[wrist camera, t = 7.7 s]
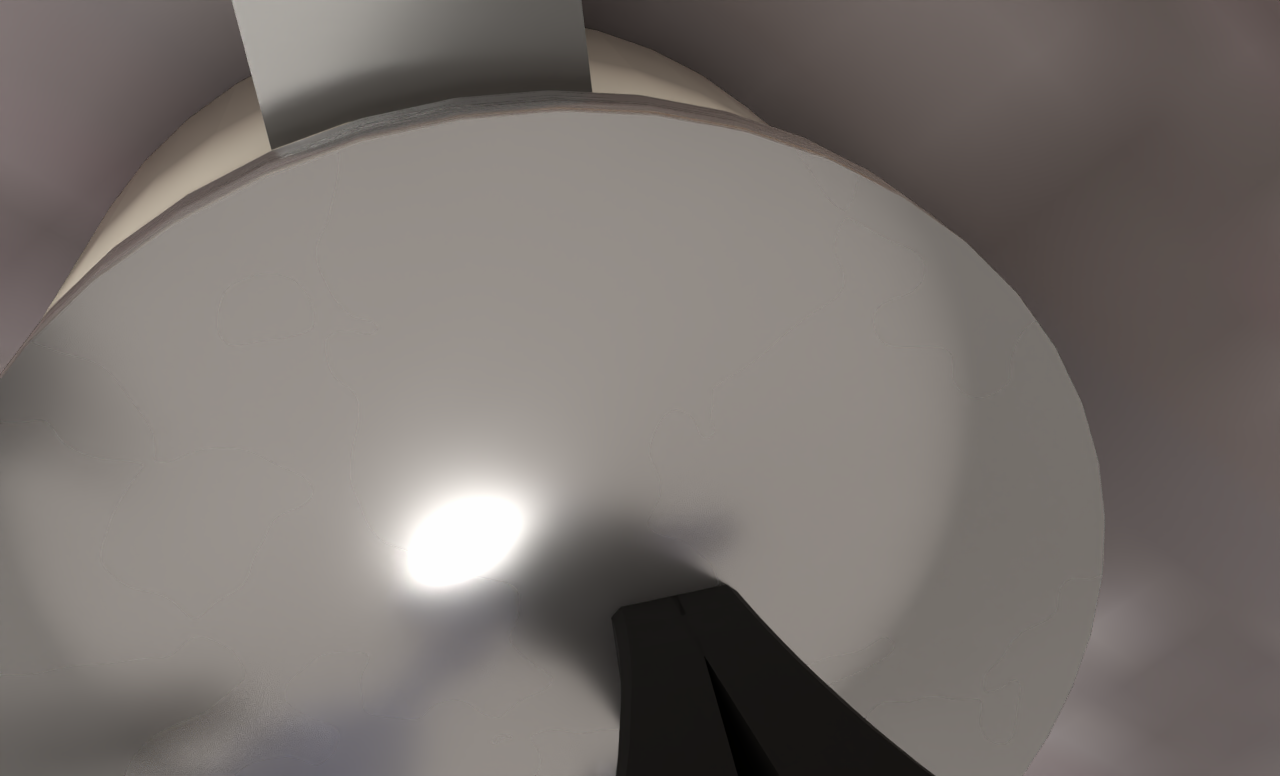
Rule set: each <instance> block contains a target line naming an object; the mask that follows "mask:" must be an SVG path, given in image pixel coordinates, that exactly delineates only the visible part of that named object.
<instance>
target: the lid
mask: <svg viewBox="0 0 1280 776" xmlns="http://www.w3.org/2000/svg"><path fill="white" fill-rule="evenodd" d="M1104 531H1105V515H1104V506H1103V497H1102V488H1101V478H1100V469H1099V461H1098V458H1097V454H1096V451H1095V447H1094V444H1093V440H1092V436H1091V433H1090V429H1089V426H1088V422H1087V419H1086V415H1085V412H1084V408H1083V404H1082V402H1081V400H1080V398H1079V396H1078V394H1077V392H1076V390H1075V388H1074V385H1073V383H1072V381H1071V379H1070V377H1069V375H1068V373H1067V371H1066V369H1065V367H1064V364H1063V362H1062V360H1061V358H1060V356H1059V354H1058V352H1057V350H1056V348H1055V346H1054V345H1053V343H1052V342H1051V341H1050V339H1049V338H1048V336H1047V335H1046V333H1045V332H1044V331H1043V329H1042V328H1041V326H1040V325H1039V324H1038V322H1037V321H1036V319H1035V318H1034V316H1033V315H1032V314H1031V312H1030V311H1029V309H1028V308H1027V307H1026V305H1025V304H1024V302H1023V301H1022V299H1021V298H1020V297H1019V295H1018V294H1017V293H1016V292H1015V291H1014V290H1013V289H1012V288H1011V287H1010V286H1009V285H1008V284H1007V283H1006V282H1005V281H1004V280H1003V279H1002V278H1001V277H1000V276H999V275H998V274H997V273H996V272H995V271H994V270H993V269H992V268H991V267H990V266H989V265H988V264H987V263H986V262H985V261H984V260H983V259H982V258H981V257H980V256H979V255H978V254H977V253H976V252H975V251H974V250H973V249H972V248H971V247H970V246H969V245H968V244H967V243H966V242H965V241H964V240H962V239H961V238H960V237H959V236H957V235H956V234H955V233H953V232H952V231H951V230H950V229H948V228H947V227H946V226H945V225H943V224H942V223H941V222H939V221H938V220H937V219H936V218H934V217H933V216H932V215H931V214H929V213H928V212H926V211H925V210H924V209H922V208H921V207H919V206H918V205H917V204H915V203H914V202H913V201H911V200H910V199H908V198H907V197H906V196H904V195H903V194H901V193H900V192H899V191H897V190H896V189H895V188H893V187H892V186H890V185H889V184H888V183H886V182H885V181H883V180H882V179H881V178H879V177H878V176H877V175H875V174H874V173H872V172H870V171H868V170H867V169H865V168H863V167H861V166H859V165H857V164H855V163H853V162H851V161H849V160H847V159H845V158H843V157H841V156H839V155H837V154H835V153H833V152H831V151H829V150H827V149H825V148H823V147H821V146H820V145H818V144H816V143H814V142H812V141H810V140H808V139H806V138H804V137H801V136H798V135H795V134H792V133H789V132H786V131H783V130H780V129H778V128H775V127H772V126H769V125H766V124H763V123H760V122H757V121H754V120H751V119H748V118H745V117H742V116H739V115H736V114H733V113H730V112H727V111H723V110H718V109H713V108H707V107H702V106H697V105H691V104H686V103H681V102H675V101H670V100H665V99H659V98H654V97H649V96H643V95H634V94H614V93H594V92H574V91H553V90H546V91H533V92H521V93H509V94H497V95H485V96H473V97H461V98H453V99H448V100H443V101H439V102H434V103H430V104H425V105H420V106H416V107H411V108H407V109H402V110H397V111H393V112H388V113H384V114H379V115H374V116H370V117H365V118H361V119H358V120H355V121H353V122H350V123H347V124H344V125H341V126H339V127H336V128H333V129H330V130H328V131H325V132H322V133H319V134H316V135H314V136H311V137H308V138H305V139H303V140H300V141H297V142H294V143H292V144H289V145H286V146H283V147H280V148H278V149H275V150H272V151H270V152H268V153H266V154H264V155H262V156H260V157H258V158H256V159H255V160H253V161H251V162H249V163H247V164H245V165H243V166H241V167H239V168H237V169H235V170H233V171H232V172H230V173H228V174H226V175H224V176H222V177H220V178H218V179H216V180H214V181H212V182H210V183H209V184H207V185H205V186H203V187H201V188H199V189H197V190H195V191H193V192H191V193H189V194H187V195H186V196H185V197H183V198H182V199H180V200H179V201H178V202H176V203H175V204H173V205H172V206H171V207H169V208H168V209H166V210H165V211H164V212H162V213H161V214H159V215H158V216H157V217H155V218H154V219H152V220H151V221H150V222H148V223H147V224H145V225H144V226H143V227H141V228H140V229H138V230H137V231H136V232H134V233H133V234H131V235H130V236H129V237H127V238H126V239H124V240H123V241H122V242H120V243H119V244H117V245H116V246H115V247H113V248H112V249H111V250H110V251H109V252H108V253H107V254H106V255H105V256H104V257H103V258H102V259H101V260H100V261H99V262H98V263H97V264H96V265H95V266H93V267H92V268H91V269H90V270H89V271H88V272H87V273H86V274H85V275H84V276H83V277H82V278H81V279H80V280H79V281H78V282H77V283H76V284H75V285H74V286H73V287H72V288H71V289H70V290H69V291H68V292H66V293H65V294H64V295H63V296H62V297H61V298H60V299H59V300H58V301H57V302H56V303H55V304H54V305H53V306H52V307H51V308H50V309H49V310H48V312H47V313H46V314H45V316H44V317H43V318H42V320H41V321H40V322H39V324H38V325H37V326H36V328H35V329H34V330H33V331H32V333H31V334H30V335H29V337H28V338H27V339H26V341H25V342H24V343H23V345H22V346H21V347H20V349H19V350H18V351H17V353H16V354H15V355H14V357H13V358H12V359H11V360H10V362H9V363H8V364H7V366H6V367H5V368H4V370H3V371H2V372H1V374H0V776H616V769H617V759H618V745H619V727H620V710H621V681H620V674H619V667H618V660H617V654H616V647H615V640H614V633H613V626H612V619H611V617H612V616H613V615H614V614H615V613H616V612H617V610H618V609H619V608H620V607H622V606H627V605H632V604H636V603H641V602H646V601H650V600H655V599H660V598H664V597H669V596H674V595H678V594H683V593H688V592H692V591H697V590H701V589H706V588H711V587H715V586H720V585H725V584H727V585H729V586H730V587H732V588H733V589H735V590H736V591H738V593H739V594H740V595H741V596H742V597H743V598H744V600H745V601H746V602H747V603H748V604H749V605H750V606H751V608H752V609H753V610H754V611H755V612H756V613H757V614H758V615H759V616H760V618H761V619H762V620H763V621H764V622H765V623H766V624H767V625H768V626H769V627H770V628H771V629H772V630H773V631H774V632H775V634H776V635H777V636H778V637H779V638H780V639H781V640H782V641H783V642H784V643H785V644H786V645H787V646H788V647H789V648H790V649H791V650H792V651H793V652H794V653H795V654H796V655H797V656H798V657H799V658H800V659H801V660H802V661H803V662H804V663H805V664H806V665H807V666H808V667H809V668H810V669H811V670H812V671H813V672H814V673H815V674H816V675H818V676H819V677H820V678H821V679H822V680H823V681H824V682H825V683H826V684H827V685H828V686H830V687H831V688H832V689H833V690H834V691H835V692H836V693H837V694H838V695H839V696H840V697H842V698H843V699H844V700H845V701H846V702H847V703H848V704H849V705H850V706H851V707H852V708H854V709H855V710H856V711H857V712H858V713H859V714H860V715H861V716H863V717H864V718H865V719H866V720H867V721H868V722H870V723H871V724H872V725H873V726H874V727H875V728H877V729H878V730H879V731H880V732H881V733H882V734H884V735H885V736H886V737H887V738H889V739H890V740H891V741H892V742H893V743H895V744H896V745H897V746H898V747H900V748H901V749H902V750H903V751H905V752H906V753H907V754H908V755H909V756H911V757H912V758H913V759H914V760H916V761H917V762H918V763H919V764H921V765H922V766H923V767H925V768H926V769H927V770H929V771H930V772H931V773H932V774H934V775H935V776H1023V775H1024V773H1025V772H1026V770H1027V768H1028V767H1029V765H1030V764H1031V762H1032V761H1033V759H1034V758H1035V756H1036V755H1037V753H1038V751H1039V750H1040V748H1041V747H1042V745H1043V744H1044V742H1045V741H1046V739H1047V738H1048V736H1049V733H1050V731H1051V729H1052V727H1053V725H1054V723H1055V721H1056V719H1057V717H1058V715H1059V713H1060V711H1061V709H1062V707H1063V705H1064V703H1065V701H1066V699H1067V697H1068V695H1069V693H1070V691H1071V689H1072V687H1073V684H1074V681H1075V678H1076V675H1077V673H1078V670H1079V667H1080V664H1081V661H1082V658H1083V655H1084V652H1085V649H1086V647H1087V644H1088V641H1089V638H1090V635H1091V631H1092V626H1093V621H1094V616H1095V611H1096V606H1097V601H1098V596H1099V591H1100V586H1101V581H1102V572H1103V552H1104Z"/></svg>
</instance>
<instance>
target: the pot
mask: <svg viewBox="0 0 1280 776" xmlns="http://www.w3.org/2000/svg"><path fill="white" fill-rule="evenodd" d="M232 3H233V7H234V11H235V14H236V18H237V22H238V26H239V30H240V33H241V37H242V41H243V45H244V48H245V52H246V56H247V60H248V63H249V67H250V71H251V75H252V76H250V77H248V78H247V79H245V80H243V81H241V82H239V83H237V84H236V85H234V86H233V87H232V88H230V89H229V90H227V91H226V92H225V93H223V94H222V95H221V96H219V97H218V98H216V99H215V100H214V101H212V102H211V103H210V104H208V105H207V106H205V107H204V108H203V109H201V110H200V111H199V112H197V113H196V114H194V115H193V116H192V117H190V118H189V119H188V120H187V121H185V122H184V123H183V124H182V125H181V126H180V127H179V128H178V129H177V130H176V131H175V132H174V133H173V134H172V135H171V136H170V137H169V138H168V139H167V140H166V141H165V142H164V143H163V144H162V145H161V146H160V147H159V148H158V149H157V150H156V151H155V152H154V153H153V154H152V155H151V156H150V157H149V158H148V159H147V160H146V161H145V162H144V163H143V164H142V166H141V167H140V168H139V170H138V171H137V172H136V174H135V175H134V176H133V178H132V179H131V180H130V182H129V183H128V184H127V186H126V187H125V188H124V190H123V191H122V192H121V194H120V195H119V196H118V198H117V199H116V200H115V201H114V203H113V204H112V205H111V207H110V208H109V210H108V212H107V213H106V215H105V216H104V218H103V220H102V221H101V223H100V225H99V226H98V228H97V230H96V231H95V233H94V234H93V236H92V238H91V239H90V241H89V243H88V244H87V246H86V248H85V249H84V251H83V253H82V254H81V256H80V257H79V259H78V261H77V262H76V264H75V266H74V267H73V269H72V271H71V272H70V274H69V276H68V277H67V279H66V280H65V282H64V284H63V285H62V287H61V289H60V290H59V292H58V294H57V295H56V297H55V298H54V300H53V302H52V303H51V305H50V307H49V308H48V310H49V309H50V308H51V307H52V306H53V305H54V304H55V303H56V302H57V301H58V300H59V299H60V298H61V297H62V296H63V295H64V294H65V293H66V292H68V291H69V290H70V289H71V288H72V287H73V286H74V285H75V284H76V283H77V282H78V281H79V280H80V279H81V278H82V277H83V276H84V275H85V274H86V273H87V272H88V271H89V270H90V269H91V268H92V267H93V266H95V265H96V264H97V263H98V262H99V261H100V260H101V259H102V258H103V257H104V256H105V255H106V254H107V253H108V252H109V251H110V250H111V249H112V248H113V247H115V246H116V245H117V244H119V243H120V242H122V241H123V240H124V239H126V238H127V237H129V236H130V235H131V234H133V233H134V232H136V231H137V230H138V229H140V228H141V227H143V226H144V225H145V224H147V223H148V222H150V221H151V220H152V219H154V218H155V217H157V216H158V215H159V214H161V213H162V212H164V211H165V210H166V209H168V208H169V207H171V206H172V205H173V204H175V203H176V202H178V201H179V200H180V199H182V198H183V197H185V196H186V195H187V194H189V193H191V192H193V191H195V190H197V189H199V188H201V187H203V186H205V185H207V184H209V183H210V182H212V181H214V180H216V179H218V178H220V177H222V176H224V175H226V174H228V173H230V172H232V171H233V170H235V169H237V168H239V167H241V166H243V165H245V164H247V163H249V162H251V161H253V160H255V159H256V158H258V157H260V156H262V155H264V154H266V153H268V152H270V151H272V150H275V149H278V148H280V147H283V146H286V145H289V144H292V143H294V142H297V141H300V140H303V139H305V138H308V137H311V136H314V135H316V134H319V133H322V132H325V131H328V130H330V129H333V128H336V127H339V126H341V125H344V124H347V123H350V122H353V121H355V120H358V119H361V118H365V117H370V116H374V115H379V114H384V113H388V112H393V111H397V110H402V109H407V108H411V107H416V106H420V105H425V104H430V103H434V102H439V101H443V100H448V99H453V98H461V97H473V96H485V95H497V94H509V93H521V92H533V91H546V90H553V91H574V92H594V93H614V94H634V95H643V96H649V97H654V98H659V99H665V100H670V101H675V102H681V103H686V104H691V105H697V106H702V107H707V108H713V109H718V110H723V111H727V112H730V113H733V114H736V115H739V116H742V117H745V118H748V119H751V120H754V121H757V122H760V123H763V124H766V123H765V122H764V121H762V120H761V119H760V118H759V117H758V116H756V115H755V114H754V113H753V112H752V111H750V110H749V109H748V108H747V107H746V106H744V105H743V104H742V103H740V102H739V101H737V100H736V99H735V98H733V97H732V96H730V95H729V94H727V93H726V92H725V91H723V90H722V89H720V88H719V87H718V86H716V85H715V84H713V83H712V82H711V81H709V80H708V79H706V78H705V77H704V76H702V75H700V74H698V73H697V72H695V71H693V70H691V69H689V68H687V67H685V66H683V65H681V64H679V63H677V62H675V61H673V60H671V59H669V58H667V57H665V56H663V55H661V54H660V53H658V52H656V51H654V50H652V49H649V48H646V47H643V46H640V45H637V44H635V43H632V42H629V41H626V40H623V39H620V38H617V37H614V36H612V35H609V34H606V33H603V32H600V31H597V30H592V29H587V28H585V26H584V18H583V10H582V1H581V0H232ZM766 125H767V124H766ZM48 310H47V312H48ZM47 312H46V313H47ZM46 313H45V314H46ZM44 316H45V315H44Z"/></svg>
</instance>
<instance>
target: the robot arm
mask: <svg viewBox="0 0 1280 776" xmlns="http://www.w3.org/2000/svg"><path fill="white" fill-rule="evenodd" d="M611 619H612V626H613V633H614V640H615V647H616V654H617V660H618V667H619V674H620V681H621V710H620V727H619V745H618V759H617V769H616V776H935V775H934V774H932V773H931V772H930V771H929V770H927V769H926V768H925V767H923V766H922V765H921V764H919V763H918V762H917V761H916V760H914V759H913V758H912V757H911V756H909V755H908V754H907V753H906V752H905V751H903V750H902V749H901V748H900V747H898V746H897V745H896V744H895V743H893V742H892V741H891V740H890V739H889V738H887V737H886V736H885V735H884V734H882V733H881V732H880V731H879V730H878V729H877V728H875V727H874V726H873V725H872V724H871V723H870V722H868V721H867V720H866V719H865V718H864V717H863V716H861V715H860V714H859V713H858V712H857V711H856V710H855V709H854V708H852V707H851V706H850V705H849V704H848V703H847V702H846V701H845V700H844V699H843V698H842V697H840V696H839V695H838V694H837V693H836V692H835V691H834V690H833V689H832V688H831V687H830V686H828V685H827V684H826V683H825V682H824V681H823V680H822V679H821V678H820V677H819V676H818V675H816V674H815V673H814V672H813V671H812V670H811V669H810V668H809V667H808V666H807V665H806V664H805V663H804V662H803V661H802V660H801V659H800V658H799V657H798V656H797V655H796V654H795V653H794V652H793V651H792V650H791V649H790V648H789V647H788V646H787V645H786V644H785V643H784V642H783V641H782V640H781V639H780V638H779V637H778V636H777V635H776V634H775V632H774V631H773V630H772V629H771V628H770V627H769V626H768V625H767V624H766V623H765V622H764V621H763V620H762V619H761V618H760V616H759V615H758V614H757V613H756V612H755V611H754V610H753V609H752V608H751V606H750V605H749V604H748V603H747V602H746V601H745V600H744V598H743V597H742V596H741V595H740V594H739V593H738V591H736V590H735V589H733V588H732V587H730V586H729V585H727V584H725V585H720V586H715V587H711V588H706V589H701V590H697V591H692V592H688V593H683V594H678V595H674V596H669V597H664V598H660V599H655V600H650V601H646V602H641V603H636V604H632V605H627V606H622V607H620V608H619V609H618V610H617V612H616V613H615V614H614V615H613V616H612V617H611Z"/></svg>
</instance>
